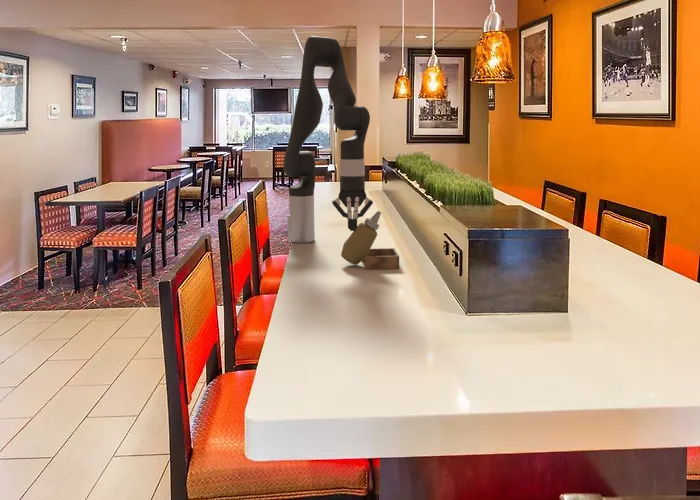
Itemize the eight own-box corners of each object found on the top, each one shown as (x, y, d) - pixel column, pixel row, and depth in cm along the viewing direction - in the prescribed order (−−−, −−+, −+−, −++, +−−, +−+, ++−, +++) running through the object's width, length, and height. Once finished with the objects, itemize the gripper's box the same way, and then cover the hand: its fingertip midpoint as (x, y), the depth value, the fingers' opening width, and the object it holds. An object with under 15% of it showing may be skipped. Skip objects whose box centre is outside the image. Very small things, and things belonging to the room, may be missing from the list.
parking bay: (364, 269, 181) (364, 256, 180) (361, 260, 192) (361, 248, 191) (399, 268, 181) (399, 256, 180) (394, 260, 192) (394, 248, 191)
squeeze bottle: (345, 254, 191) (375, 207, 187) (363, 268, 187) (394, 220, 184) (333, 251, 184) (364, 202, 180) (351, 266, 180) (383, 216, 177)
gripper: (330, 175, 176) (331, 233, 179) (375, 175, 176) (375, 232, 180) (330, 173, 183) (330, 228, 187) (372, 172, 184) (372, 228, 187)
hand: (352, 230), depth 183 cm, fingers closed
